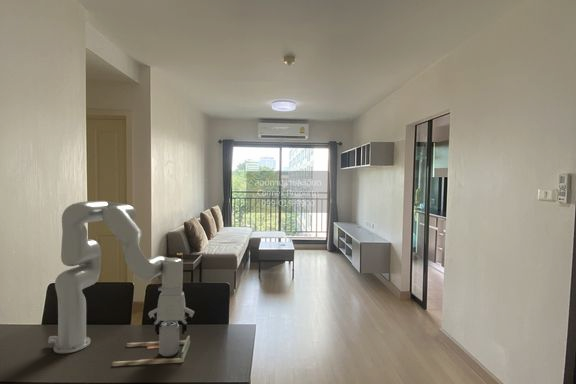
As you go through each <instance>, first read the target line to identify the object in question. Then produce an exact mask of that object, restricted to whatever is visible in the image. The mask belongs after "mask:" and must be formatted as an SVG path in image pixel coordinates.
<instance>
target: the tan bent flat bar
mask: <svg viewBox="0 0 576 384" xmlns="http://www.w3.org/2000/svg"><path fill="white" fill-rule="evenodd" d="M190 337H191V336H190V335H187V337H186V339H184V340H179V345H183V347H182V350H181V352H180V353H181V356H180V357H178V358H176V357H175V358H166V357H165V358H163V357H162V358H160V357H159V358H143V359H139V360H138V359H137V360H122V361H120V360H119V361H113V362H111V366H112V367H120V366H121V367H122V366H124V367H125V366H137V365H138V366H141V365H158V364H176V363H177V364H178V363H184V361H185V359H186V356H187V352H188V350H189V347H190V344H191V338H190ZM133 347H146V350H148V349H149V350H151V349H152V350H153V349H154V350H156V349H159V341H145V342H144V341H143V342H127V343H126V348H133Z"/></svg>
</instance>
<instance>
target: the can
mask: <svg viewBox="0 0 576 384" xmlns="http://www.w3.org/2000/svg"><path fill="white" fill-rule="evenodd" d="M178 322H179V321H161V326H160V328H159V334H158V339H159V340H158V342H159V348H158V353H159V355H161V356H162V357H165V358H166V357H168V358H169V357H173V356H175V355H176V354H177V353H178V352H179V351H180V344H179V341H180V324H179V323H178Z"/></svg>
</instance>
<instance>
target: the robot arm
mask: <svg viewBox="0 0 576 384" xmlns="http://www.w3.org/2000/svg"><path fill="white" fill-rule="evenodd" d="M137 215H138V214H137V211H136V209H135V207H133V206H131V205H130V204H127V203H121V202H114V201H113V202H112V201H108V200H90V201H89V200H88V201H80V202H75V203H72V204H70V205H69V206H67V207H65V209H64V211H63V212H62V214H61V228H62V233H61V251H60V259H61V263H62V264H63V265H64V266H66V267H72V268H70V269H66V270H64V271H62V272H61V273H60V274H58V275H57V276H56V278H55V281H54V287H55V293H56V296H57V315H58V317H57V321H58V322H57V326H58V327H57V329H58V330H57V335H51V336H48V341H47V342H48V344H54V345H53V352H54V353H55V354H60V355H61V354H70V353H71V354H72V353H75V352H78V351H81V350H84V349H85V348H87V347H88V346H90V344H91V338H90V337H89V336H87V300H86V299H87V298H86V297H85V294H84V293H83V290H84V289H86V288H88V287H90V286H92V285H95V284H96V283H97V282H98V280H99V278H100V275H101V263H102V262H101V261H102V249H101V245H100V243H99V242H98V241H96V240H94V239H91V238H88V230H87V227H86V224H88V223H94V222H101V221H103V222H104V224H105V225H106V226H107V227H108V229H110V231H111V232H112V233H113V235H114V236H115V237H116V239H117V240H118V242H119V243H120V244H121V245H122V251H123V252H122V253H123V257H124V260H125V263H126V265H127V267H128V268H129V269H130V270H131V272H132V273H133V274H134V275H135V276H136V277H137V278H138V279H140V280H142V281H151V280H152V279H155V277H156V278H157V277H158V276H161V278H162V279H161V282H162V283H161V286H160V287H158V288H157V289H158V291H159V292H160V294H159V296H158V300H157V307H156V308H154V309H153V310H150V311H149V312H148V316H149V319H150V320H151V322H153V324H154V326H155V327H154V332H155V333H156V334H155V335H156V336H159V328H160V326H161V323H162V322H164V321H177V322H179V321H180V322H182V325H181V334H182V335H185V333H186V332H187V331H188V330H187V329H188V323H189V321H191V319H192V318H193V316H194V314H195V310H193V309H191V308H189V307H186V298H185V297H186V296H185V292H184V291H183V280H184V279H183V278H184V277H183V276H184V274H183V273H184V262H183V259H181V258H179V257H167V256H164V255H155V256H152V257H150V258H147V257H146V255H144V253H143V252H142V250H141V247H140V241H141V238H142V237H143V232H142V229H140V227H139V226H138V225H137V224H136V222H135V221H136V219H137ZM186 313H187V314H189V315H188V316H186ZM155 314H156V316H155Z"/></svg>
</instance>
